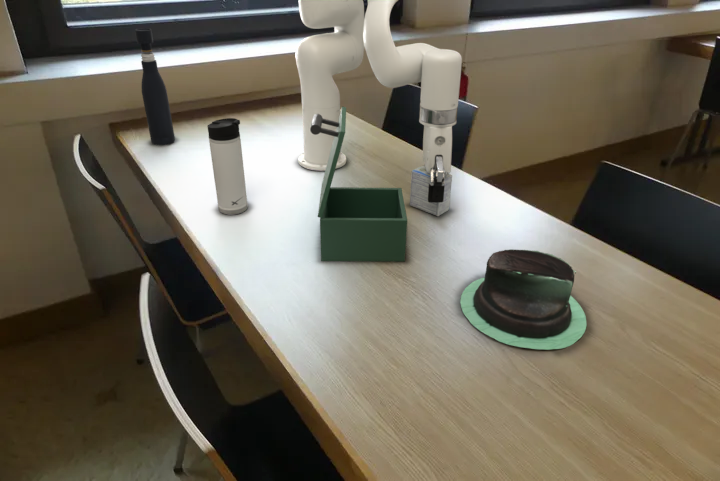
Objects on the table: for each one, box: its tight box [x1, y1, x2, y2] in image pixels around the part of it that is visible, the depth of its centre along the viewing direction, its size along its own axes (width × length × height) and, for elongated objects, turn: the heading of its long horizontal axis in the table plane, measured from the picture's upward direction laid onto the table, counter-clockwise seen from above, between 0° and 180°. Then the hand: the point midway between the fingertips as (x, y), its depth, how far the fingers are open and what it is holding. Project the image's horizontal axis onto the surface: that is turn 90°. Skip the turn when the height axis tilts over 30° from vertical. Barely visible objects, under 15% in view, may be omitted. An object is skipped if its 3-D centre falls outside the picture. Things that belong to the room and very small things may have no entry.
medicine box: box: [409, 164, 453, 217], centre depth 116 cm, size 8×4×9 cm, turn 47°
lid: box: [310, 106, 347, 218], centre depth 96 cm, size 16×14×6 cm
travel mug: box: [206, 117, 249, 216], centre depth 112 cm, size 6×7×20 cm
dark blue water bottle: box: [134, 27, 176, 146], centre depth 144 cm, size 6×6×30 cm
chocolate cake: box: [460, 249, 588, 351], centre depth 86 cm, size 15×19×20 cm
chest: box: [319, 186, 408, 263], centre depth 103 cm, size 16×14×9 cm
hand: (432, 192), depth 116 cm, fingers open, 9 cm apart
